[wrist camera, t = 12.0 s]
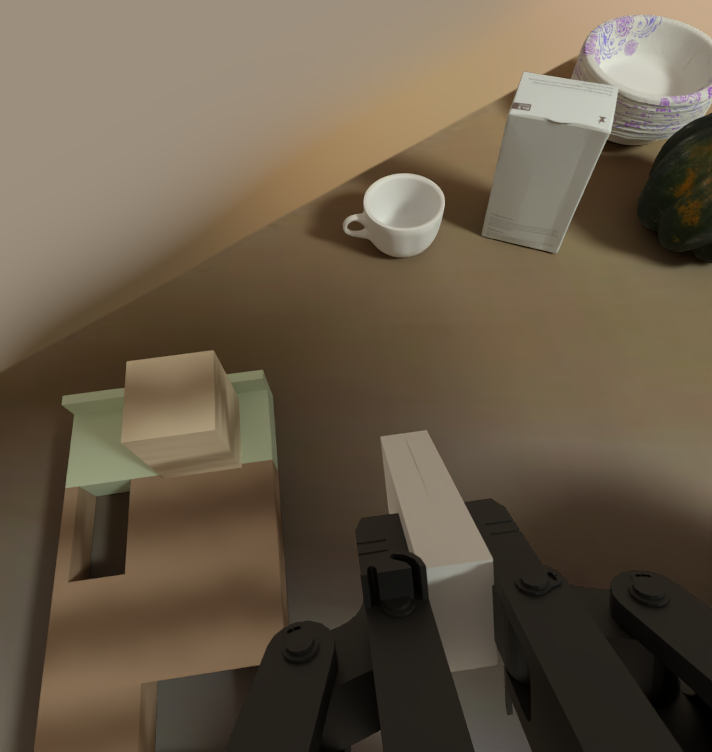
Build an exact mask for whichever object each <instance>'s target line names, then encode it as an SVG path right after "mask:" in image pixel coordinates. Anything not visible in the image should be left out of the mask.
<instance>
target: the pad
mask: <svg viewBox="0 0 712 752" xmlns="http://www.w3.org/2000/svg"><path fill="white" fill-rule="evenodd" d="M226 375H227V377H228V378H229V380H230V382H231V384H232V386H233V388H234V390H235V392H236V394H237V396H238V398H239V412H240V436H241V460H242V464H244V463H251V462H258V461H266V460H273V462H274V464H275V466H276V468H277V470H278V461H277V447H276V433H275V419H274V405H273V395H272V392H271V390H270V387H269V385H268V382H267V379H266V377H265V374H264V371H263V370H256V371H249V372H241V373H234V374H226ZM124 391H125V388H119V389H111V390H103V391H96V392H88V393H81V394H73V395H65V396H63V398H62V406H64V407H65V408H66V409H67V410H69V411H70V412H71V413H73V414H74V421H73V429H72V437H71V445H70V454H69V462H68V470H67V478H66V487H65V488H71V487H78V486H79V487H80V488H82V489H84V490H86V491H88V492H90V493H91V494H93V495H95V496H102V495H109V494H116V493H123V492H130V484H131V479H136V478H143V477H150V476H157V475H159V474H158V473H157V472H156V471H155V470H153V469H152V468H151V467H150V466H149V465H147V464H146V463H145V462H144V461H142V460H141V459H140V458H139V457H138V456H136V455H135V454H134V453H133V452H131V451H130V450H129V449H128V448H127V447H125V446H124V445H123V444H122V443H121V433H122V419H123V405H124Z"/></svg>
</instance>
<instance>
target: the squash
mask: <svg viewBox="0 0 712 752" xmlns="http://www.w3.org/2000/svg"><path fill="white" fill-rule="evenodd" d="M637 213H638V217H639V220H640V221H641V223H642V224H643V225H644V226H645V227H647V228H649V229H651V230H653V231H656V232H658V238H659V242H660V243H661V245H662V246H663V247H664V248H666V249H668V250H670V251H673V252H684V251H689V250H693V253H694V254H695V255H696V257H697V258H699V259H702V260H704V261H706V262H709V263H712V113H710V114H709V115H706V116H703V117H700V118H697V119H695V120H693V121H691V122H689V123H688V124H686V125H685V126H684V127H683V128H681V129H680V130H678V131H677V132H676V133H674V134H673V135H672V136H671V137H670V138H669V139H668V141H667V142H666V143H665V144H664V145H663V147H662V149H661V150H660V152H659V154H658V155H657V157H656V159H655V161H654V164H653V166H652V169H651V171H650V176H649V180H648V181H647V183H646V185H645V187H644V189H643V191H642V193H641V195H640V198H639V201H638V207H637Z"/></svg>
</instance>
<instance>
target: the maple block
mask: <svg viewBox="0 0 712 752" xmlns="http://www.w3.org/2000/svg"><path fill="white" fill-rule="evenodd" d="M121 443H122V444H123V445H124V446H125V447H127V448H128V449H129V450H130V451H131V452H133V453H134V454H135V455H136V456H138V457H139V458H140V459H141V460H142V461H144V462H145V463H146V464H147V465H149V466H150V467H151V468H152V469H153V470H155V471H156V472H157V473H158V474H159V475H161V476H162V477H163V478H171V477H178V476H185V475H192V474H199V473H207V472H214V471H221V470H228V469H235V468H242V460H241V436H240V412H239V398H238V396H237V394H236V392H235V390H234V388H233V386H232V384H231V382H230V380H229V378H228V377H227V375H226V373H225V371H224V369H223V367H222V365H221V363H220V361H219V359H218V357H217V356H216V354H215V352H214V350H211V351H203V352H195V353H188V354H180V355H172V356H165V357H157V358H149V359H142V360H134V361H127V363H126V377H125V391H124V405H123V419H122V433H121Z"/></svg>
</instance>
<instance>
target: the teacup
mask: <svg viewBox="0 0 712 752" xmlns="http://www.w3.org/2000/svg"><path fill="white" fill-rule="evenodd" d="M363 204H364V212H363V213H362V214H354V215H351V216H349V217H347V218H346V219H345V220H344V222H343V230H344V232H345V233H346V234H348V235H350V236H354V237H359V238H366V239H369V240H370V241H371V242H372V243H373V244H374V245H375V246H376V247H377V248H378V249H379V250H380V251H382V252H383V253H385V254H387V255H390V256H393V257H401V258H403V257H411V256H414V255H417V254H419V253H421V252H422V251H424V250H425V249H426V248H428V247H429V245H430V244H431V243H432V241H433V240H434V238H435V237H436V235H437V233H438V230H439V227H440V224H441V220H442V216H443V212H444V207H445V198H444V194H443V192H442V190H441V189H440V188H439V187H438V186H437V185H436V184H435V183H434V182H433V181H431V180H429V179H427V178H425V177H423V176H420V175H415V174H408V173H401V174H393V175H389V176H386V177H383V178H381V179H379V180H377V181H376V182H374V183H373V184H372V185H371V186H370V187H369V188H368V190H367V191H366V193H365V196H364V201H363ZM352 221H357V222H359V223H361V224H362V225H363V226H364V227H365V228H364V229H363V230H359V231H352V230H349V229H348V228H347V226H348V224H349V223H350V222H352Z"/></svg>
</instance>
